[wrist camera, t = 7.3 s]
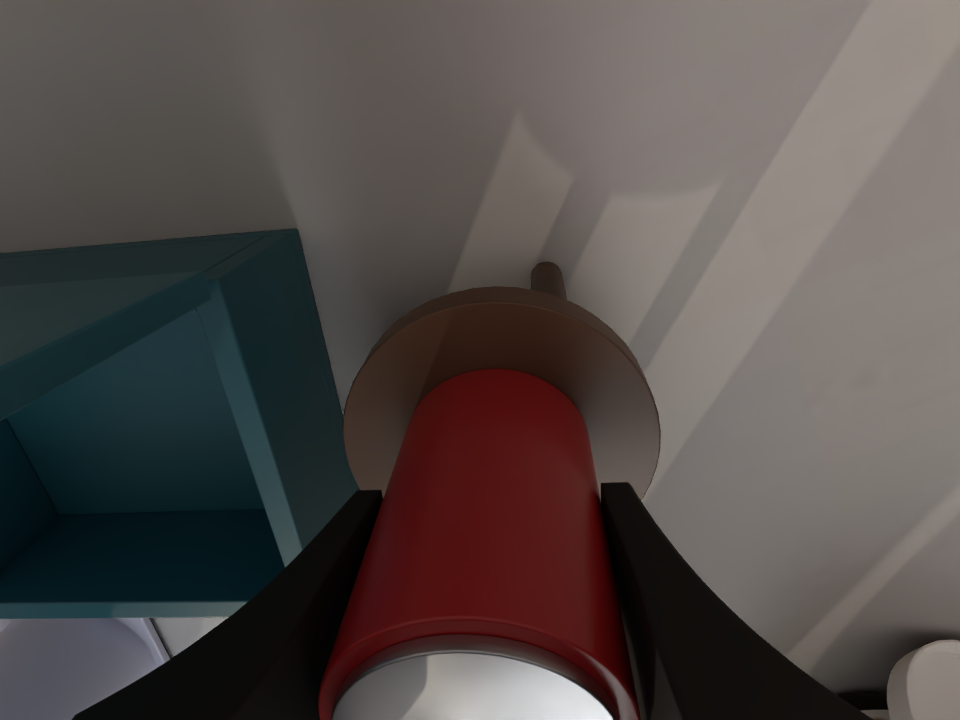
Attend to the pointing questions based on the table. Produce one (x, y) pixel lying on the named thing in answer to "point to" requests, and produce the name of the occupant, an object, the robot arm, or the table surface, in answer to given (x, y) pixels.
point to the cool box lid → (82, 327)
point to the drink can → (486, 570)
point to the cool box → (175, 442)
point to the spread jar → (918, 686)
